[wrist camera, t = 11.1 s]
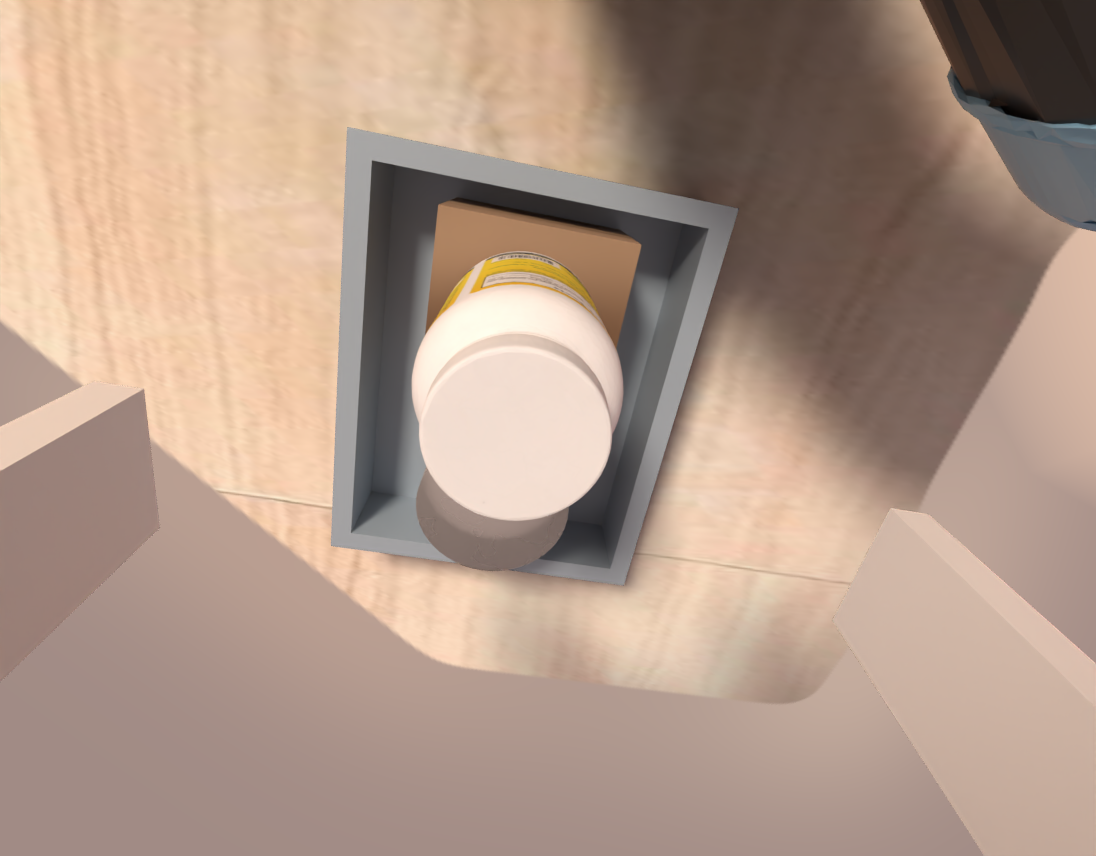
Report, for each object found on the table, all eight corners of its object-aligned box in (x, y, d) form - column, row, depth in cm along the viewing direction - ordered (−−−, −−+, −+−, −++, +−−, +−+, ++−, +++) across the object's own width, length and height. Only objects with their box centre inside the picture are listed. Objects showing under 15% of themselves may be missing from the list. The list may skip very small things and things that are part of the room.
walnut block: (457, 197, 27) (438, 204, 22) (620, 229, 28) (641, 244, 22) (439, 356, 30) (418, 397, 25) (585, 381, 31) (596, 426, 26)
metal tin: (446, 375, 31) (423, 429, 24) (572, 396, 31) (583, 454, 25) (432, 485, 34) (409, 560, 27) (549, 503, 34) (553, 579, 28)
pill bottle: (496, 419, 25) (473, 583, 15) (417, 297, 23) (328, 397, 13) (621, 352, 24) (684, 483, 14) (551, 218, 22) (567, 260, 12)
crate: (378, 133, 27) (347, 126, 22) (705, 201, 28) (738, 208, 24) (357, 496, 35) (331, 546, 30) (612, 533, 36) (623, 585, 32)
